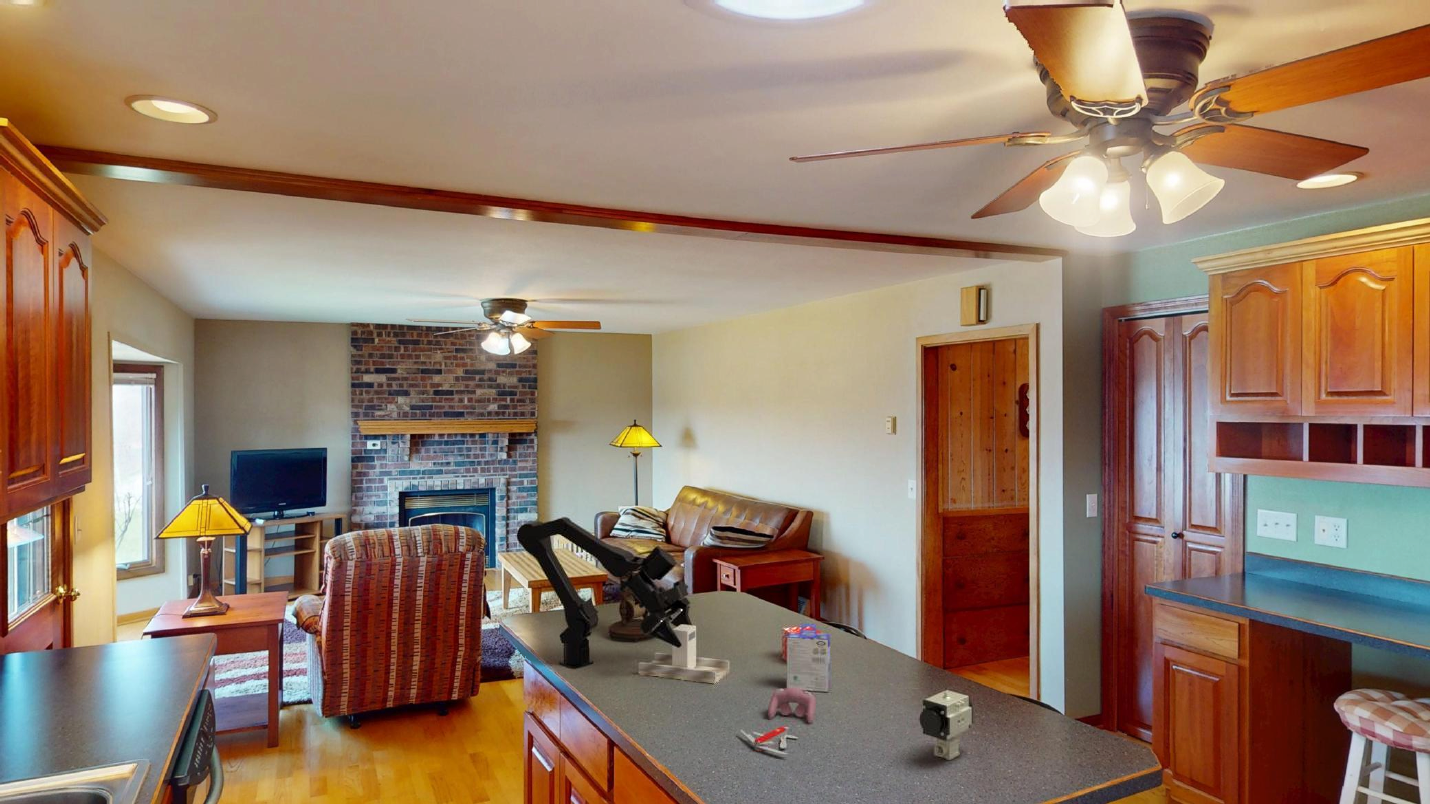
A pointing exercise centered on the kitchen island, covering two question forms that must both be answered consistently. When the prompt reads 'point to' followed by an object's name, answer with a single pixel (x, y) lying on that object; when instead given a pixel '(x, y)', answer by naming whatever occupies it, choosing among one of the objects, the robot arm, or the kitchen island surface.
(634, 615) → the wooden figurine
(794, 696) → the video game controller
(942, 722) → the pneumatic valve
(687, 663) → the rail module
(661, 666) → the mounting rail
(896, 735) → the kitchen island surface
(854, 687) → the kitchen island surface
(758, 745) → the swiss army knife
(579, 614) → the robot arm
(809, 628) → the red patterned cube
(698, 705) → the kitchen island surface
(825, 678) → the ink cartridge box
